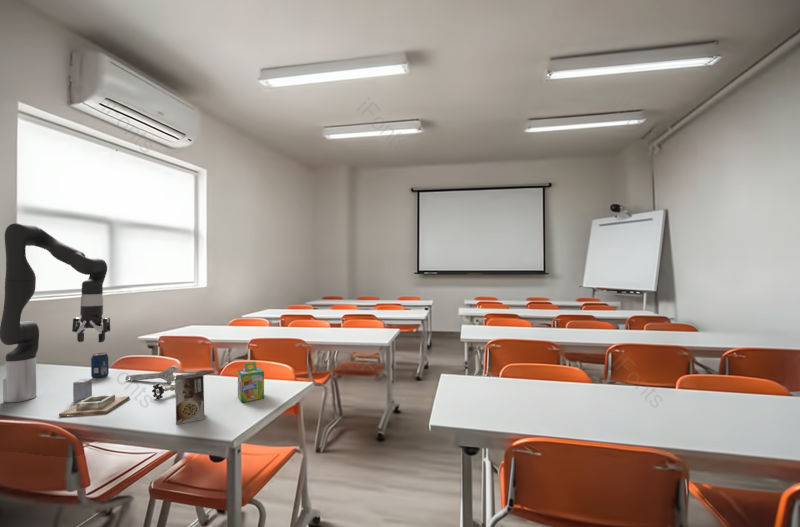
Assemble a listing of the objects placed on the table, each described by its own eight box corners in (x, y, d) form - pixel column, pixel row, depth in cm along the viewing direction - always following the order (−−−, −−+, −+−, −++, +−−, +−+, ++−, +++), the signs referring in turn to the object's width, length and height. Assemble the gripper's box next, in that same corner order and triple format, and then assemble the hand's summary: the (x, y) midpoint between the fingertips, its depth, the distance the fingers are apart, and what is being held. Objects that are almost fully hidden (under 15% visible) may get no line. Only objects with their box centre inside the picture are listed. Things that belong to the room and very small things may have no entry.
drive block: (73, 401, 156) (73, 382, 156) (80, 398, 161) (80, 379, 161) (85, 400, 157) (85, 381, 157) (91, 397, 161) (91, 378, 162)
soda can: (96, 375, 194) (96, 352, 194) (111, 375, 195) (111, 352, 195) (88, 379, 187) (87, 355, 187) (103, 378, 188) (103, 355, 189)
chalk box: (241, 403, 152) (241, 366, 152) (237, 397, 159) (236, 362, 159) (264, 398, 157) (264, 363, 157) (259, 392, 164) (259, 359, 165)
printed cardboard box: (204, 413, 141) (203, 371, 142) (204, 419, 136) (204, 375, 136) (176, 418, 137) (175, 374, 137) (175, 424, 131) (174, 379, 132)
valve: (178, 390, 170) (151, 398, 159) (178, 375, 170) (151, 383, 159) (188, 391, 167) (161, 400, 156) (188, 377, 167) (161, 385, 156)
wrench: (129, 386, 186) (181, 381, 181) (126, 387, 184) (178, 382, 179) (127, 369, 186) (179, 364, 181) (124, 370, 184) (177, 365, 179)
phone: (213, 371, 198) (187, 379, 184) (213, 373, 198) (187, 381, 184) (203, 370, 201) (177, 377, 187) (203, 371, 201) (176, 379, 187)
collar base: (59, 417, 140) (59, 408, 140) (87, 401, 156) (87, 393, 156) (106, 413, 143) (106, 404, 143) (129, 399, 158) (129, 391, 158)
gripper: (67, 305, 157) (66, 343, 157) (102, 305, 158) (101, 344, 158) (82, 303, 165) (81, 340, 165) (115, 303, 165) (114, 340, 165)
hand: (91, 341), depth 161 cm, fingers open, 8 cm apart
